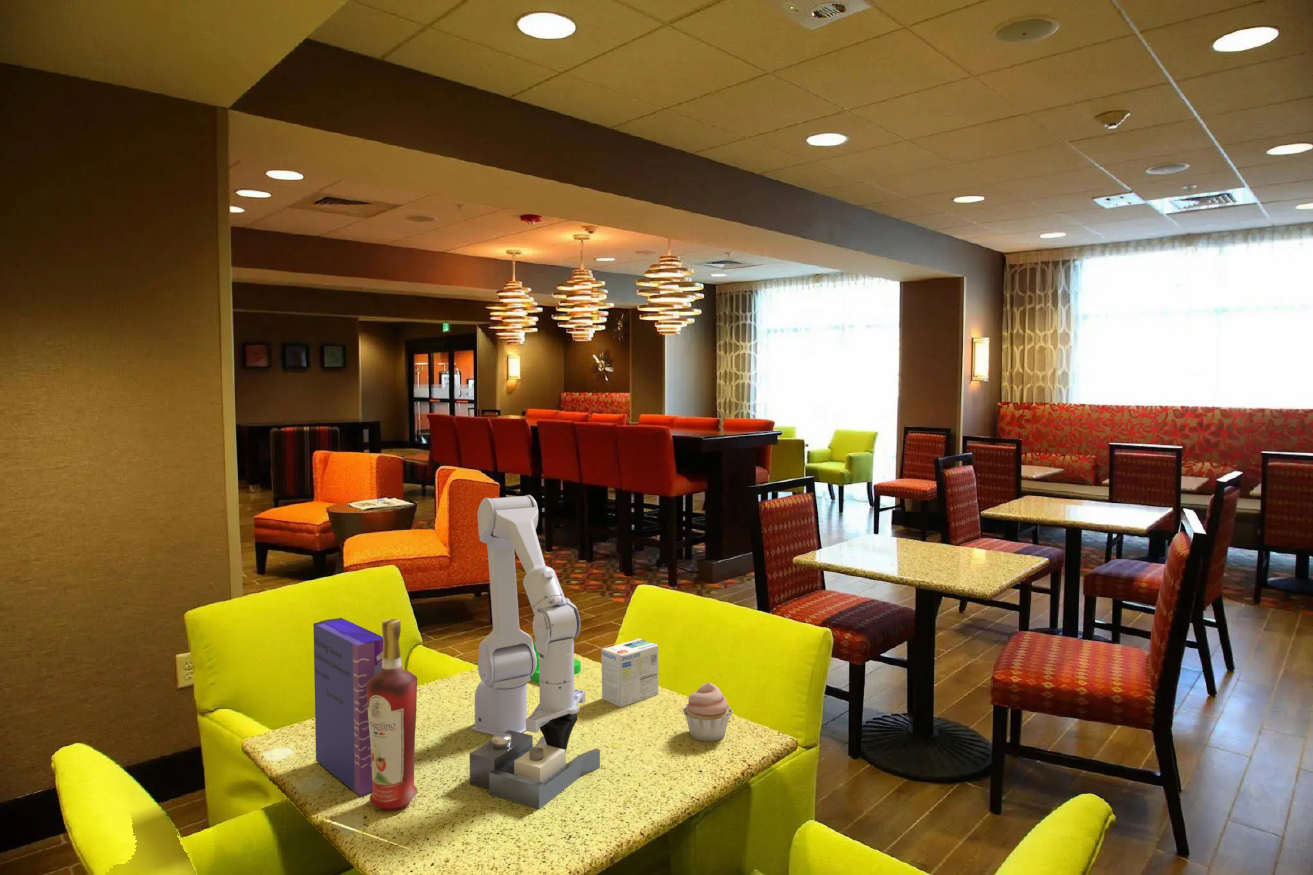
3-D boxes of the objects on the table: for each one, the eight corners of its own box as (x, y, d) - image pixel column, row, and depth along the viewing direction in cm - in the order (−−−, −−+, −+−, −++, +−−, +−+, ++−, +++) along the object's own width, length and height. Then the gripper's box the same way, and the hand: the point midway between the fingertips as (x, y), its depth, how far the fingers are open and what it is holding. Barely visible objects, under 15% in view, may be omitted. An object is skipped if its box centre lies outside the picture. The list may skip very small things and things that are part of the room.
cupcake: (696, 751, 133) (696, 694, 133) (673, 730, 142) (673, 677, 141) (742, 741, 137) (742, 686, 137) (717, 722, 146) (717, 670, 145)
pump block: (514, 789, 120) (514, 753, 120) (540, 770, 126) (540, 736, 126) (540, 796, 118) (540, 760, 117) (565, 776, 124) (565, 742, 124)
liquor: (357, 811, 113) (354, 626, 112) (387, 788, 120) (384, 613, 119) (400, 818, 111) (397, 630, 110) (428, 794, 118) (426, 616, 117)
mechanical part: (545, 685, 166) (545, 649, 165) (528, 678, 170) (528, 643, 169) (586, 671, 175) (586, 636, 174) (568, 665, 179) (568, 631, 178)
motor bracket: (464, 787, 120) (464, 749, 120) (525, 748, 134) (525, 713, 134) (545, 811, 113) (545, 770, 113) (601, 767, 127) (600, 730, 127)
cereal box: (389, 786, 121) (387, 637, 120) (360, 797, 117) (357, 644, 117) (343, 751, 133) (341, 616, 132) (315, 760, 130) (313, 622, 129)
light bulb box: (638, 686, 164) (638, 637, 164) (659, 695, 159) (659, 644, 159) (600, 699, 157) (599, 647, 157) (620, 708, 152) (620, 655, 152)
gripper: (551, 696, 117) (551, 783, 118) (600, 668, 130) (600, 746, 131) (514, 689, 121) (515, 773, 121) (566, 662, 133) (566, 738, 134)
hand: (557, 758), depth 126 cm, fingers closed
